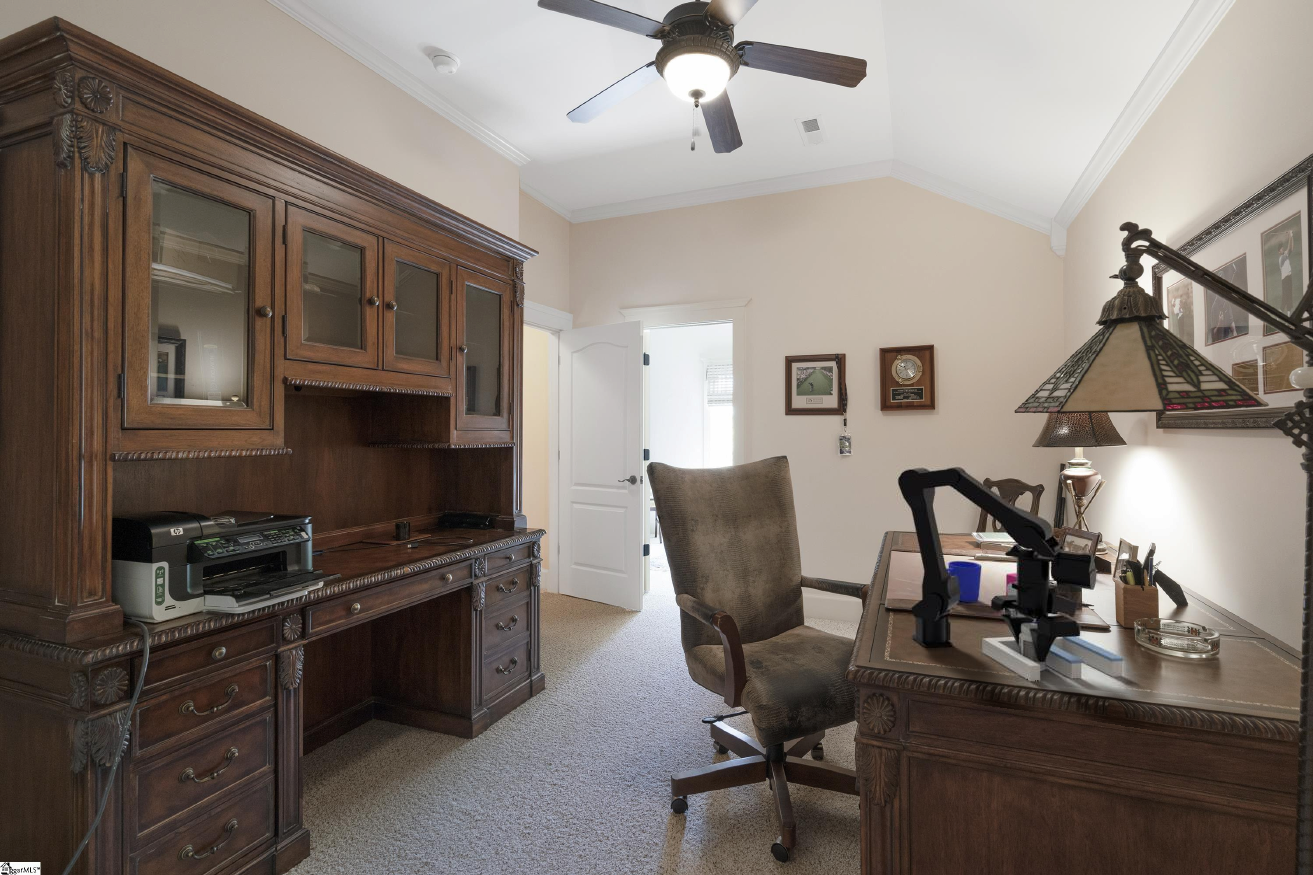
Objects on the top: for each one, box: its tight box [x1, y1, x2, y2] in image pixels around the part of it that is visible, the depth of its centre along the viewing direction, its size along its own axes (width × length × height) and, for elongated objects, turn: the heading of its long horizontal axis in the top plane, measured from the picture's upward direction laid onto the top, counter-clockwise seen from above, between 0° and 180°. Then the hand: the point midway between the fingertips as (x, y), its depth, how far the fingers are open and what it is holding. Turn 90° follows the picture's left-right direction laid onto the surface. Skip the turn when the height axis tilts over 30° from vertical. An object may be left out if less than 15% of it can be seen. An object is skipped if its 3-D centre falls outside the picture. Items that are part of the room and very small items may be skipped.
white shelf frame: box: [981, 636, 1124, 682], centre depth 127 cm, size 19×15×4 cm
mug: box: [946, 560, 982, 603], centre depth 171 cm, size 8×12×10 cm
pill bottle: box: [1019, 623, 1047, 672], centre depth 126 cm, size 5×5×8 cm
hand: (1032, 656), depth 126 cm, fingers closed on pill bottle, 5 cm apart
